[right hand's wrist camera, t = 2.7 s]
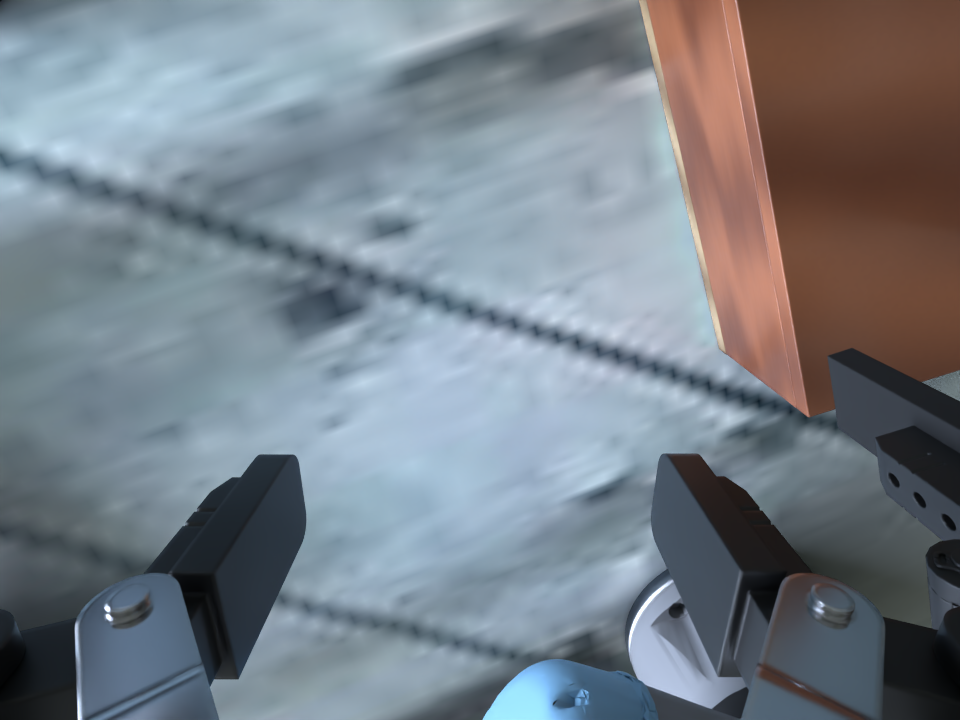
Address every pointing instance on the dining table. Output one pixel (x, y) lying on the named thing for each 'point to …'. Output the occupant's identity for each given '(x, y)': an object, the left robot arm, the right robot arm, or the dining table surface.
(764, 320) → the cabinet
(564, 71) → the dining table surface
